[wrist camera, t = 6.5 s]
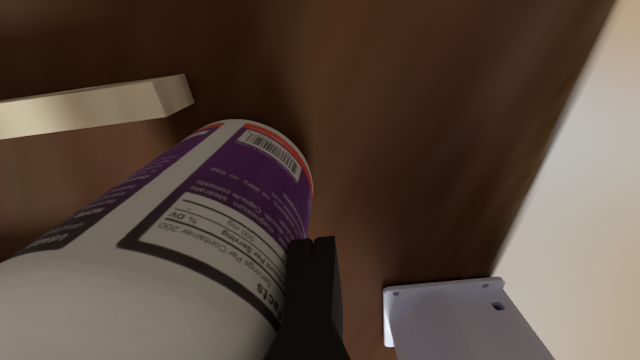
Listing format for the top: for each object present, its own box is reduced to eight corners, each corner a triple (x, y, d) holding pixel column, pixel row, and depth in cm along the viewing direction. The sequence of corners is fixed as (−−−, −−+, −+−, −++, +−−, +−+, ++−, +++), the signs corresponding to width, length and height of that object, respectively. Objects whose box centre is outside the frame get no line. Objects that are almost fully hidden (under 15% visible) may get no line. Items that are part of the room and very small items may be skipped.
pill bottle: (202, 225, 18) (-91, 633, 6) (172, 111, 14) (-912, 604, 2) (315, 230, 18) (266, 676, 5) (316, 115, 14) (150, 753, 2)
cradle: (184, 73, 14) (151, 81, 11) (248, 256, 20) (237, 289, 17) (-179, 125, 15) (-287, 144, 12) (-12, 282, 21) (-60, 317, 18)
